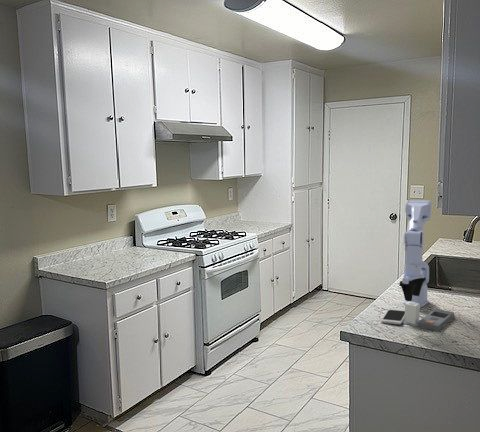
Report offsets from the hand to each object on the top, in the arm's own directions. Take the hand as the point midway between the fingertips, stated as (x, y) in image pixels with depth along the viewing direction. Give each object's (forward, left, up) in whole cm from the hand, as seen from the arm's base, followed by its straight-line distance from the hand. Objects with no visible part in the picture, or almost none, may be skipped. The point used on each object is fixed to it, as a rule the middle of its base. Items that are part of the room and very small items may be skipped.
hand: (412, 298), depth 168 cm
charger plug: (0, 0, -9) cm, 9 cm away
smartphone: (0, -7, -9) cm, 11 cm away
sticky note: (0, 0, -9) cm, 9 cm away
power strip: (-6, +7, -9) cm, 13 cm away
